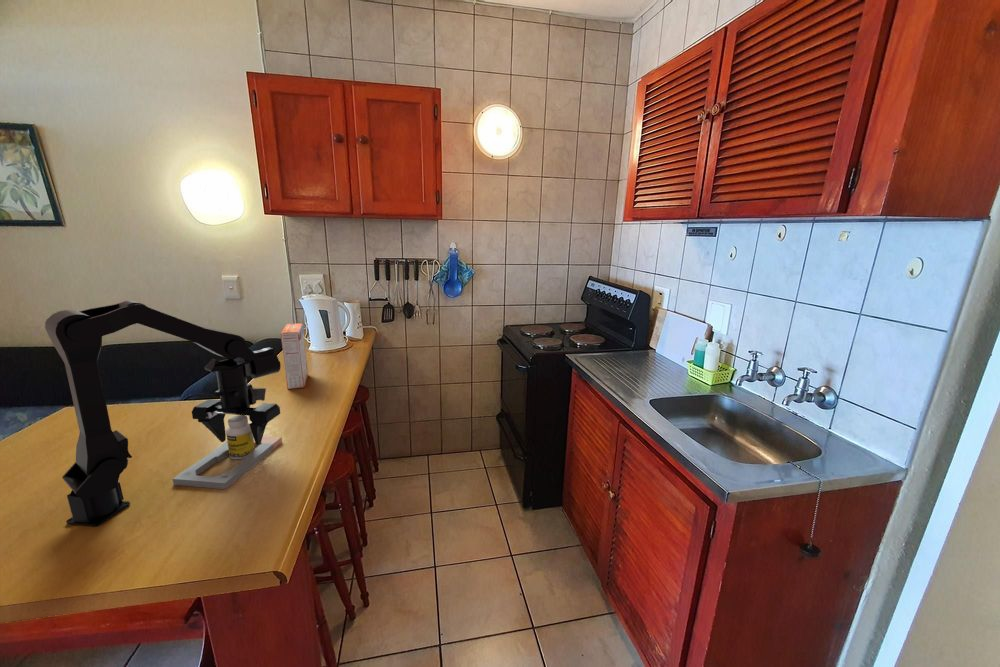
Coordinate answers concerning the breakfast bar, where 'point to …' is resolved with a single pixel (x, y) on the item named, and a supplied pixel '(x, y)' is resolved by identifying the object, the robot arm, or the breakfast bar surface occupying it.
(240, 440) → the supplement bottle
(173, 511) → the breakfast bar surface
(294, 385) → the cracker box
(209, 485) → the keyhole board
